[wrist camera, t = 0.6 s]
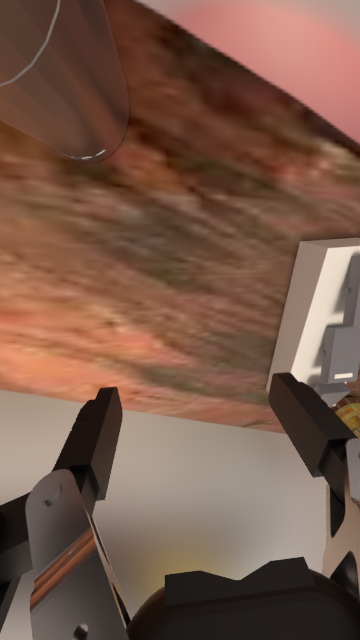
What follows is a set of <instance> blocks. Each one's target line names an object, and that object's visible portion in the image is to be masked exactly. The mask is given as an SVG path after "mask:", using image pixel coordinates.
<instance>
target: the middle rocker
mask: <svg viewBox="0 0 360 640" xmlns="http://www.w3.org/2000/svg"><path fill="white" fill-rule="evenodd" d="M321 355H322V356H323V359H322V367H321V376H320V378H321V379H322V380H323V381H325V382H326V383H328V384H330V383H340V382H350V381H357V375H358V369H359V363H360V326H350V325H338V326H326V334H325V342H324V350H322V351H321Z"/></svg>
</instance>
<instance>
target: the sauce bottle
mask: <svg viewBox="0 0 360 640" xmlns="http://www.w3.org/2000/svg"><path fill="white" fill-rule="evenodd" d="M331 409H332V410H333V411H334V412H335V413H336V414H337V415H338V416H339V417H340V419H341V420H342V421H343V422H344V423H345V424H346V425H347V426H348V427H349V428H350V429H351V430H352V432H353V433H354V434H355V435H356V436H357V437H358V438H359V439H360V402H359V400H358V399H356V398H354V397H344V398H342V399H341V400H340V401H338V402H337V403H336V405H335V406H332V407H331Z"/></svg>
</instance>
